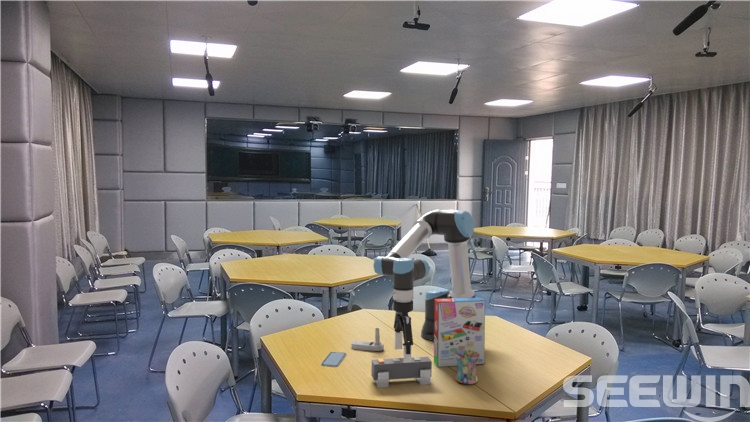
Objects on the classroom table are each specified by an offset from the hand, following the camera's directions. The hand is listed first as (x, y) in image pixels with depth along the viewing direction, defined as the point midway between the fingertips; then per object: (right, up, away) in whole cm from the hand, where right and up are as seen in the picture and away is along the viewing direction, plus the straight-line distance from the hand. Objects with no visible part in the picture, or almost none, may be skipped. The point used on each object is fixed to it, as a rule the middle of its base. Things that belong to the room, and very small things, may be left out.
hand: (402, 355), depth 179 cm
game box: (+25, -9, +19) cm, 32 cm away
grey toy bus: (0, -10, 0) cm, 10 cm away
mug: (+24, -10, 0) cm, 26 cm away
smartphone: (-28, -9, +21) cm, 36 cm away
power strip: (0, -8, 0) cm, 8 cm away
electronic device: (-14, -8, +36) cm, 40 cm away
